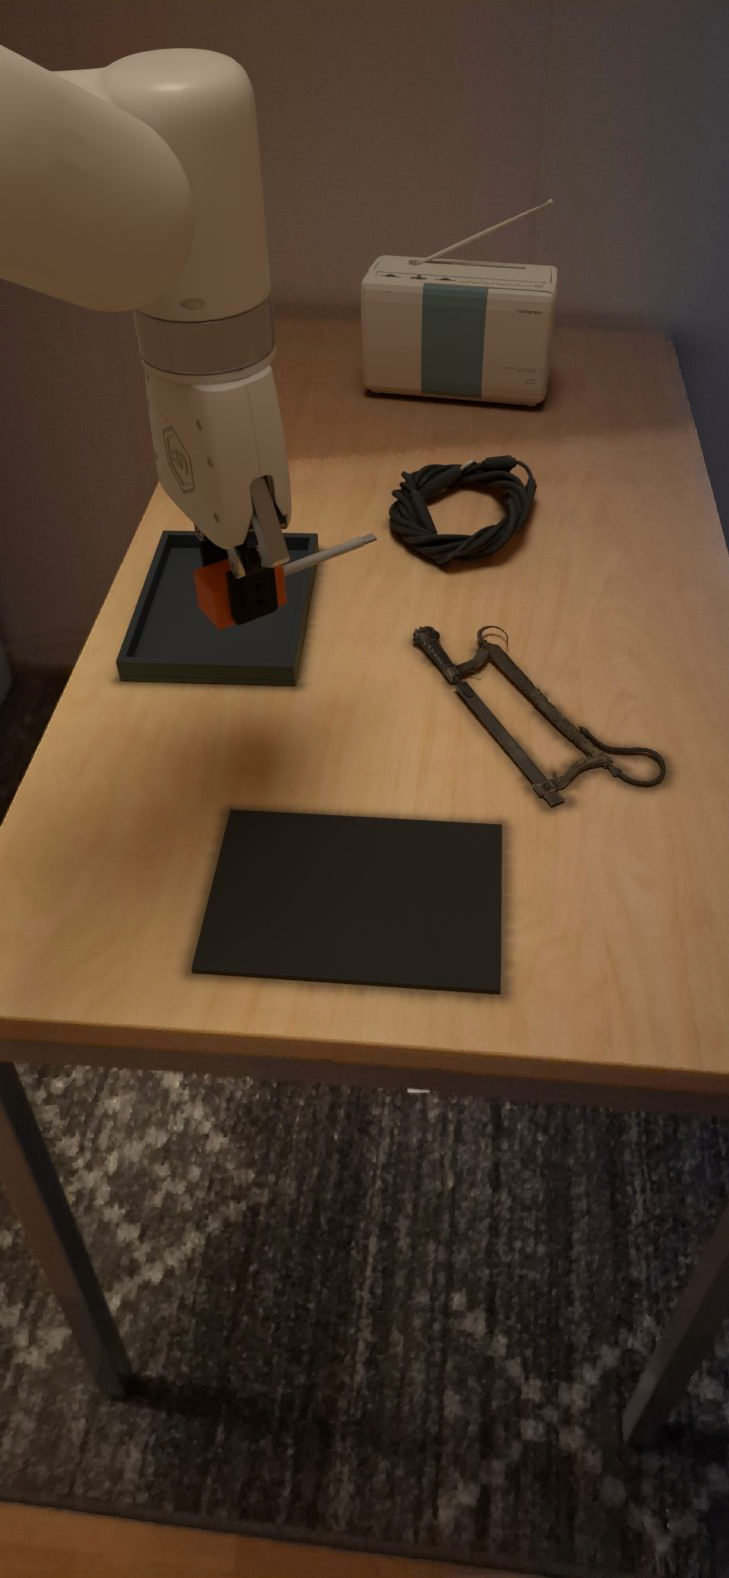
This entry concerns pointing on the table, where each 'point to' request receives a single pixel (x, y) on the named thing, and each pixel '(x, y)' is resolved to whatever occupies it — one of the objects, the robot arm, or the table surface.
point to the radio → (458, 327)
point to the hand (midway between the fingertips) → (242, 599)
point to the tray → (190, 646)
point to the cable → (431, 479)
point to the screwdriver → (215, 585)
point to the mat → (356, 901)
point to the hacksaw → (595, 756)
